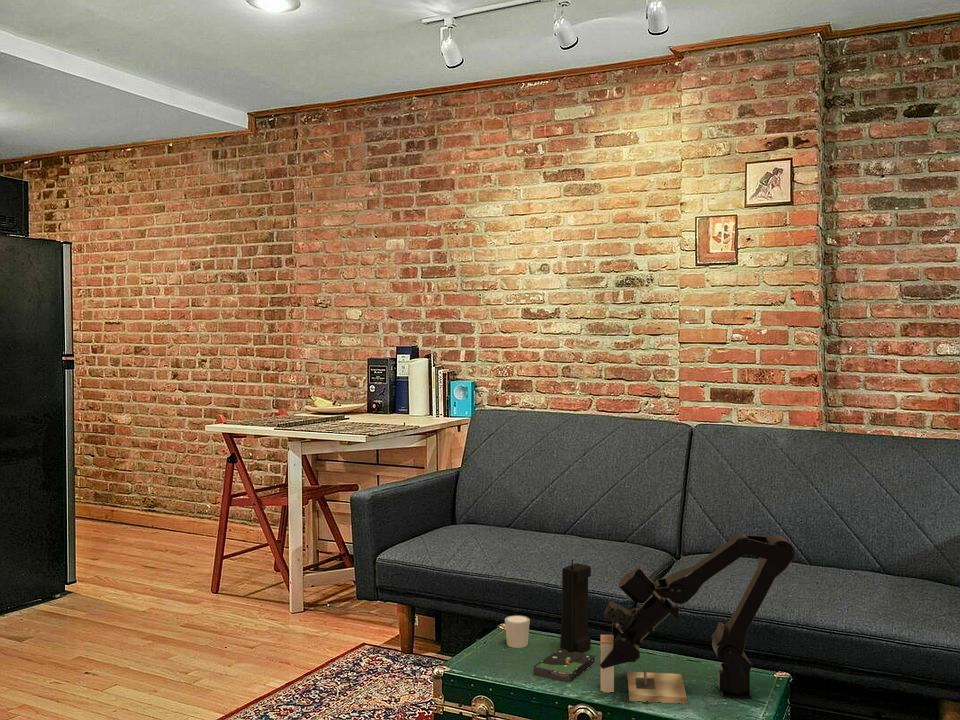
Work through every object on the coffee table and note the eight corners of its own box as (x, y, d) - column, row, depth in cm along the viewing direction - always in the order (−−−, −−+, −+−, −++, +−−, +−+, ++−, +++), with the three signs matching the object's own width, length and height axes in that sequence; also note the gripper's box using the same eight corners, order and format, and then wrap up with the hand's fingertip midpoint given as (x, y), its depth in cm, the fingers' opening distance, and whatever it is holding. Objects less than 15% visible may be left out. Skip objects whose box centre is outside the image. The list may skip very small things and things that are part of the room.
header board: (680, 680, 217) (681, 661, 217) (686, 703, 203) (686, 684, 203) (627, 677, 219) (627, 659, 219) (629, 701, 205) (629, 681, 205)
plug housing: (613, 683, 215) (613, 635, 214) (613, 692, 210) (613, 642, 209) (600, 683, 215) (600, 634, 215) (600, 692, 210) (600, 642, 210)
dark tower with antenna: (574, 642, 243) (574, 552, 242) (593, 647, 239) (593, 556, 239) (558, 650, 237) (558, 558, 236) (577, 656, 233) (577, 562, 233)
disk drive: (558, 658, 233) (532, 676, 221) (558, 648, 233) (532, 665, 221) (595, 666, 228) (570, 685, 215) (595, 655, 228) (570, 673, 215)
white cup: (518, 638, 247) (518, 613, 247) (535, 644, 242) (535, 619, 242) (499, 643, 243) (499, 618, 243) (516, 650, 238) (516, 624, 237)
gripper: (622, 581, 220) (578, 623, 222) (625, 603, 202) (576, 649, 204) (655, 613, 220) (609, 655, 222) (660, 639, 201) (611, 685, 203)
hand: (601, 660), depth 212 cm, fingers open, 8 cm apart
